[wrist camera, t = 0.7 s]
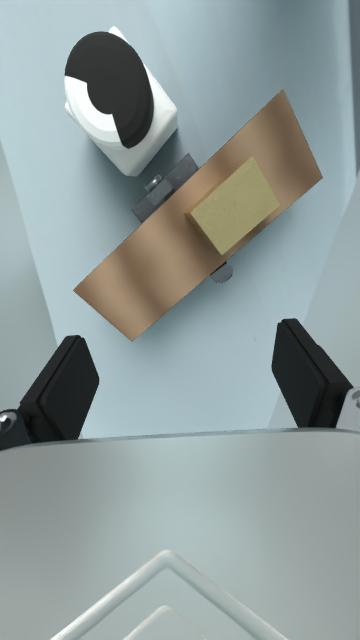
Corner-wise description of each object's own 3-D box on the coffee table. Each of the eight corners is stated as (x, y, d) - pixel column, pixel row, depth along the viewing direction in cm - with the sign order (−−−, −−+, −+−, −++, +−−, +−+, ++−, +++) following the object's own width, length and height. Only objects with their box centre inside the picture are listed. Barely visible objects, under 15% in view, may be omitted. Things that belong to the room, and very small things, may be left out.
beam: (272, 98, 24) (283, 89, 22) (310, 180, 27) (322, 177, 25) (77, 285, 28) (73, 290, 26) (132, 334, 31) (131, 341, 30)
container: (129, 61, 26) (92, -28, 15) (179, 126, 29) (179, 92, 18) (88, 124, 29) (31, 89, 18) (137, 177, 32) (114, 177, 20)
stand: (186, 150, 30) (189, 140, 22) (244, 237, 36) (264, 255, 27) (90, 247, 36) (64, 267, 28) (152, 308, 42) (146, 340, 33)
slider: (237, 163, 24) (252, 155, 20) (263, 206, 26) (280, 204, 22) (184, 213, 25) (190, 213, 22) (212, 250, 27) (221, 255, 23)
